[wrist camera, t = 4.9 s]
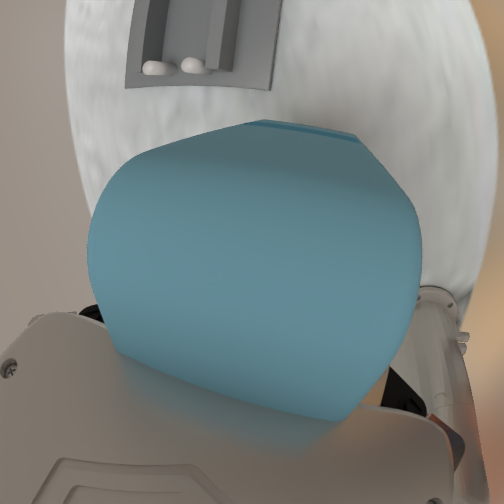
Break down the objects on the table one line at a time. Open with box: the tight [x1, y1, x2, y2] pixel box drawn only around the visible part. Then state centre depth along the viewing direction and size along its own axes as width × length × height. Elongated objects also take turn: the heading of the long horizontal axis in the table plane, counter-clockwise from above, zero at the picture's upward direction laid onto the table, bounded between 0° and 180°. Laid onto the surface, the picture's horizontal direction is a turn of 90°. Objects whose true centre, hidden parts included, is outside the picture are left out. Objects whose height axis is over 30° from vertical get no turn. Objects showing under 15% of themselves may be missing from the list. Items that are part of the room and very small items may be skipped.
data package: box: [87, 120, 422, 422], centre depth 10 cm, size 12×4×12 cm, turn 176°
